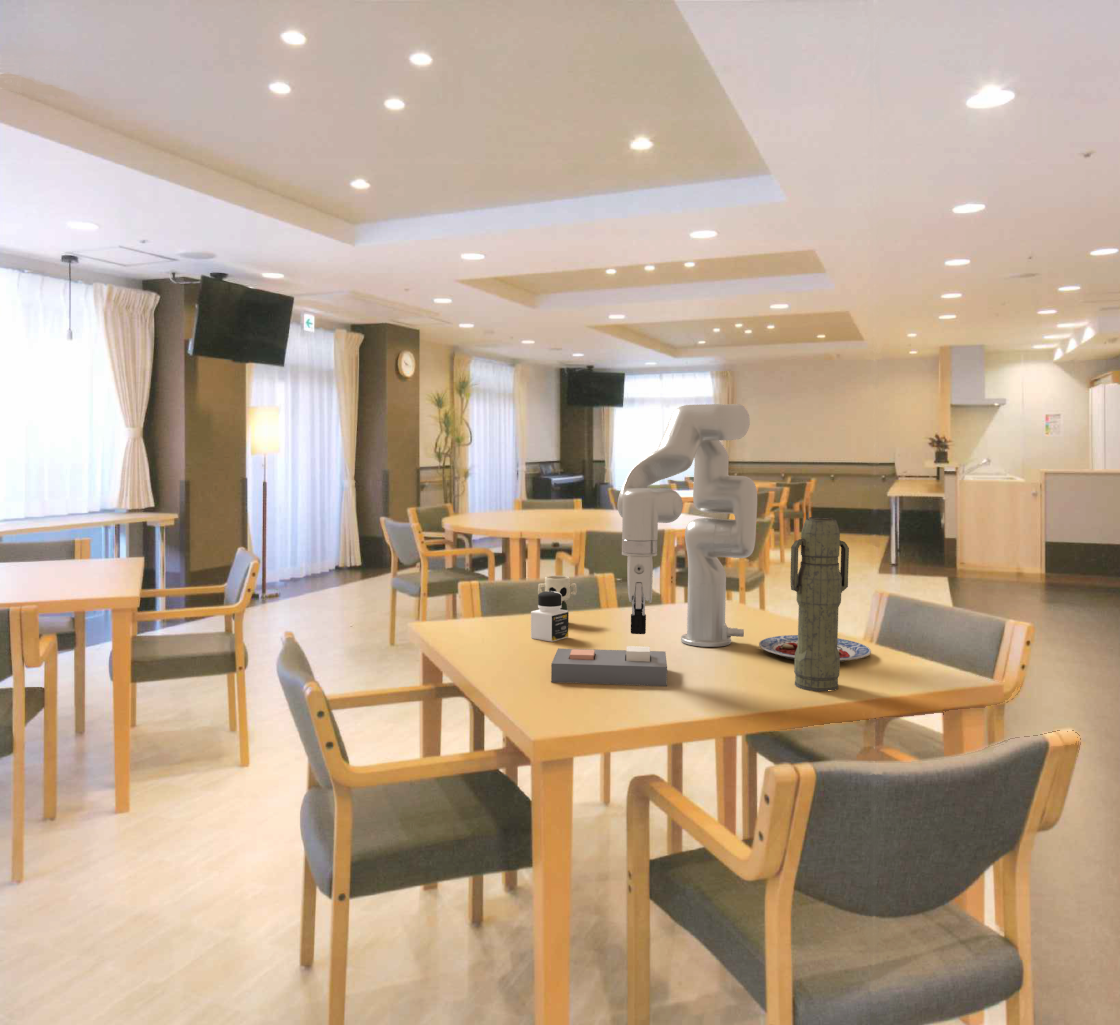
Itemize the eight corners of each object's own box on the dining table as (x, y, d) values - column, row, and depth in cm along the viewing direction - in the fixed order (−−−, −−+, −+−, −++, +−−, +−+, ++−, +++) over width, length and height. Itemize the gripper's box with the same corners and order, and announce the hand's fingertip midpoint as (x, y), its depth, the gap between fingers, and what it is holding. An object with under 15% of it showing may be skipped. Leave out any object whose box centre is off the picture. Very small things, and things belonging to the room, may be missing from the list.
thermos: (854, 689, 176) (859, 519, 174) (802, 693, 173) (806, 519, 171) (830, 678, 185) (835, 515, 183) (780, 681, 182) (784, 516, 180)
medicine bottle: (552, 642, 219) (552, 595, 218) (530, 638, 223) (530, 592, 222) (568, 637, 224) (569, 591, 224) (547, 633, 229) (547, 589, 228)
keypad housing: (665, 669, 192) (665, 651, 192) (666, 685, 178) (667, 666, 178) (557, 665, 194) (557, 648, 194) (551, 682, 180) (551, 663, 180)
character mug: (538, 625, 240) (538, 579, 239) (537, 620, 247) (537, 575, 246) (577, 625, 240) (577, 579, 239) (575, 620, 247) (575, 575, 246)
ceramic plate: (806, 673, 191) (806, 659, 190) (737, 648, 214) (737, 636, 214) (895, 662, 201) (895, 649, 201) (820, 640, 224) (820, 628, 224)
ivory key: (649, 660, 188) (649, 646, 188) (649, 665, 183) (650, 651, 183) (626, 659, 188) (626, 645, 188) (626, 665, 183) (626, 651, 183)
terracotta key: (594, 663, 189) (594, 649, 189) (593, 669, 184) (593, 655, 184) (571, 662, 189) (571, 649, 189) (569, 668, 184) (569, 654, 184)
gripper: (657, 552, 176) (656, 641, 177) (656, 545, 191) (655, 627, 192) (621, 551, 177) (619, 640, 178) (622, 544, 192) (621, 626, 193)
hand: (638, 633), depth 185 cm, fingers closed
